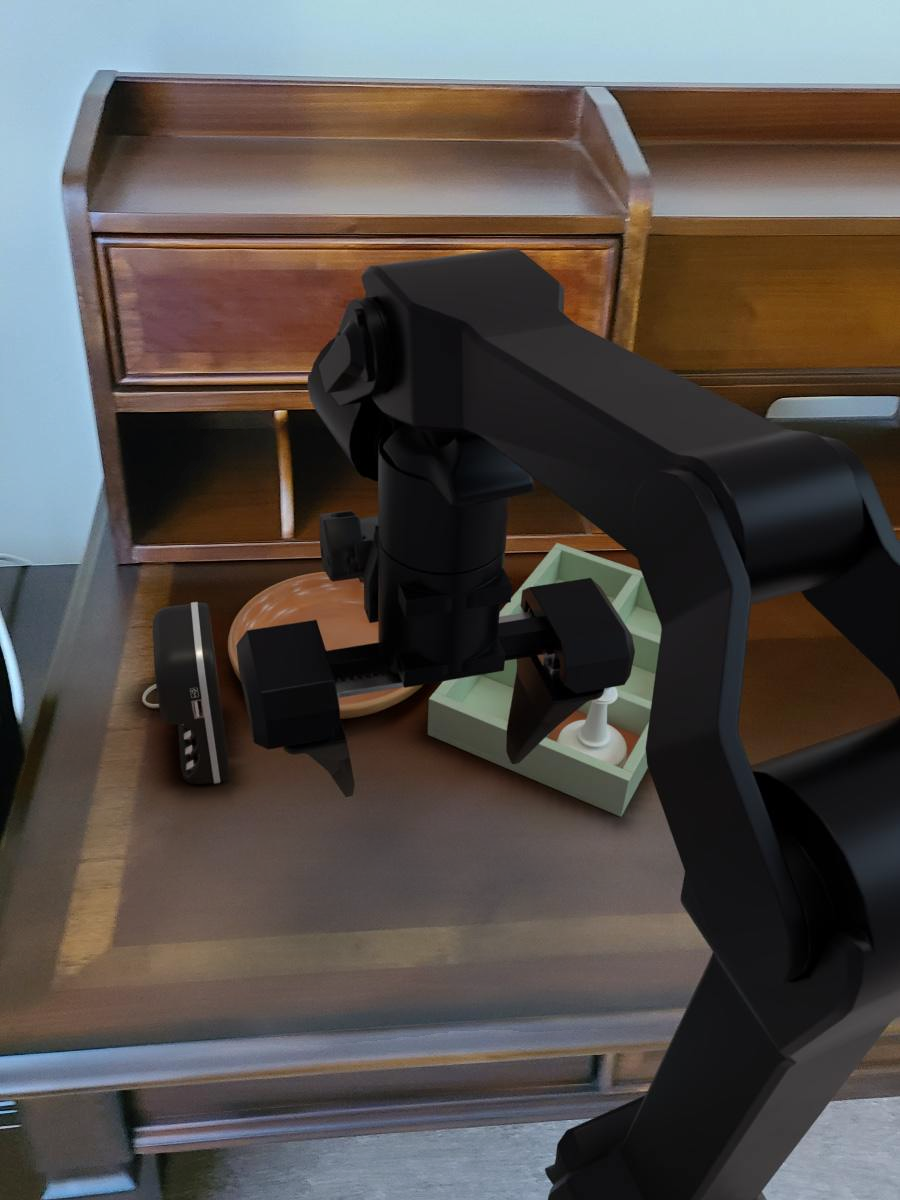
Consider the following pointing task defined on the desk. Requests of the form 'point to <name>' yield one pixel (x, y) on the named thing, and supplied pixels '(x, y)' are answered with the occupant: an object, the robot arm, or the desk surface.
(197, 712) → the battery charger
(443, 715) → the compartment tray
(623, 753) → the chess piece
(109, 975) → the desk surface
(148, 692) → the ring
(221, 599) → the desk surface
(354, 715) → the saucer
